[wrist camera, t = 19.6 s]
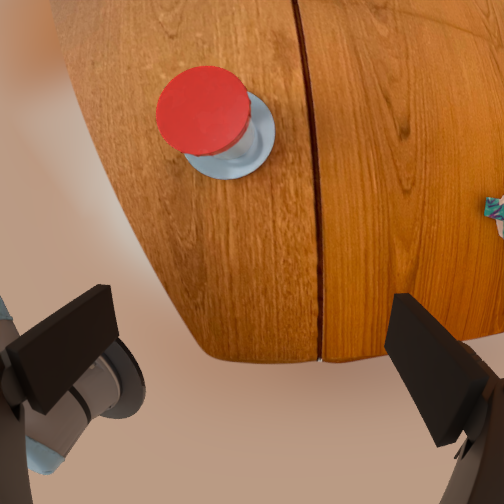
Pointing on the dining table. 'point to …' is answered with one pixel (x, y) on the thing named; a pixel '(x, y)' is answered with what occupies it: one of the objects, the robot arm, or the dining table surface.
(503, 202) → the mug
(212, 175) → the coaster
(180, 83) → the lid
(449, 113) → the dining table surface
